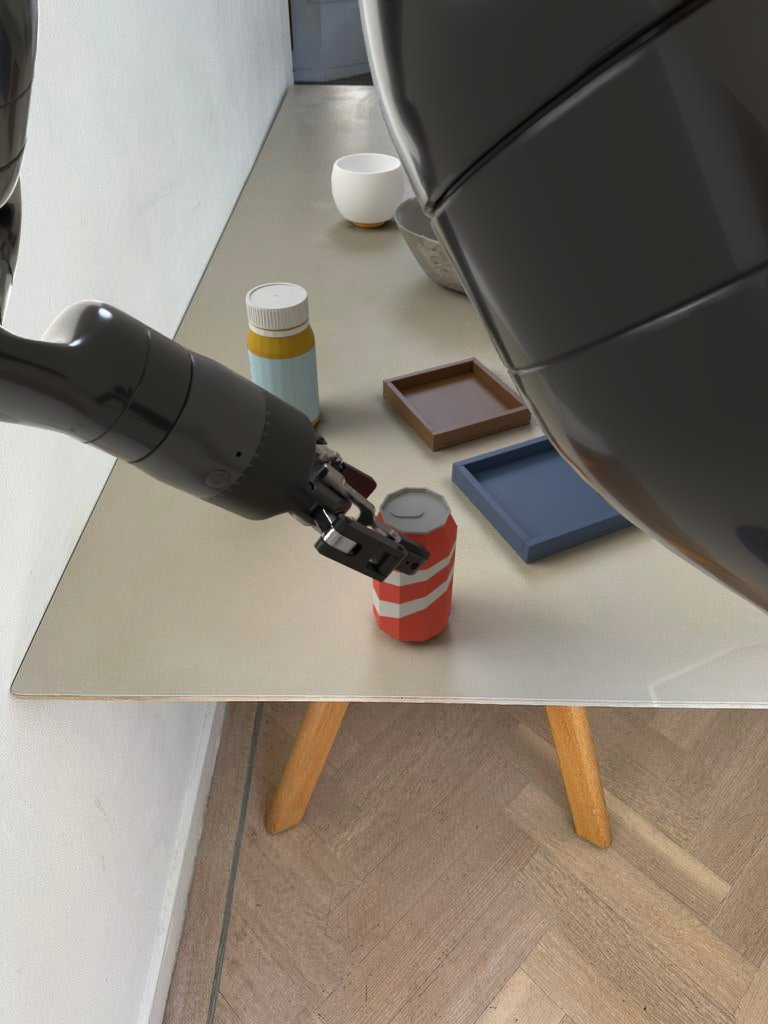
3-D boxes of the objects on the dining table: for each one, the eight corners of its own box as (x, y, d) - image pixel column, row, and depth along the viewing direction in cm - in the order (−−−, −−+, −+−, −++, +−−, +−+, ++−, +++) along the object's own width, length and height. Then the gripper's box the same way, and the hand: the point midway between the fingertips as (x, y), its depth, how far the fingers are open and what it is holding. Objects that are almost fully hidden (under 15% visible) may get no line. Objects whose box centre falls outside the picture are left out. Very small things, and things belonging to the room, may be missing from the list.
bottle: (330, 427, 84) (323, 300, 75) (273, 445, 82) (257, 317, 72) (303, 397, 89) (293, 275, 79) (248, 414, 86) (230, 289, 77)
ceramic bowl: (413, 324, 103) (415, 252, 97) (381, 257, 120) (380, 192, 114) (567, 309, 106) (579, 238, 100) (514, 246, 123) (521, 183, 117)
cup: (322, 215, 134) (319, 157, 128) (385, 205, 138) (385, 148, 132) (350, 239, 126) (348, 178, 120) (416, 228, 130) (417, 168, 123)
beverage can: (375, 590, 66) (373, 481, 58) (448, 592, 65) (457, 483, 58) (371, 645, 61) (369, 535, 53) (450, 647, 61) (460, 538, 53)
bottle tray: (530, 423, 85) (532, 407, 84) (432, 451, 81) (433, 435, 80) (473, 371, 94) (474, 356, 92) (382, 395, 89) (382, 379, 88)
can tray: (645, 520, 73) (650, 503, 71) (526, 563, 68) (529, 546, 67) (561, 445, 82) (564, 429, 80) (451, 479, 77) (452, 462, 76)
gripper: (301, 453, 39) (477, 548, 50) (220, 333, 48) (383, 435, 59) (215, 560, 40) (404, 628, 52) (153, 423, 50) (324, 506, 61)
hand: (392, 525), depth 56 cm, fingers open, 8 cm apart
